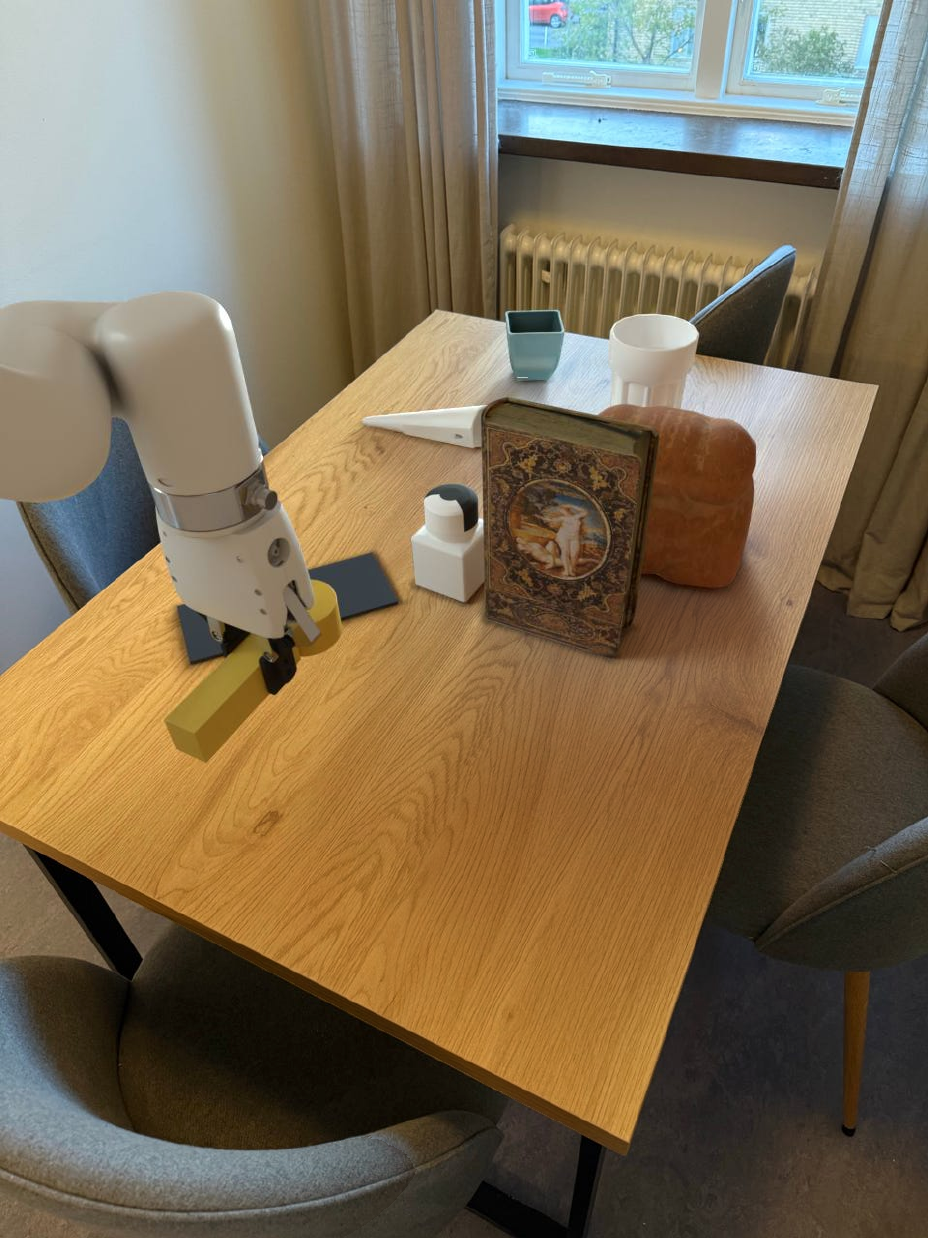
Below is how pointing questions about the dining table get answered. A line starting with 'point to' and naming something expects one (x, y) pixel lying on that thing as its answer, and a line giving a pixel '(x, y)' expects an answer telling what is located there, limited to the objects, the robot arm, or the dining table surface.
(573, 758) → the dining table surface
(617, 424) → the book
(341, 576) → the mat
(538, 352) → the flower pot
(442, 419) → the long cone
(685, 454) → the bread
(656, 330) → the cup
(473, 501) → the medicine bottle
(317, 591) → the yellow disc-ended bar
